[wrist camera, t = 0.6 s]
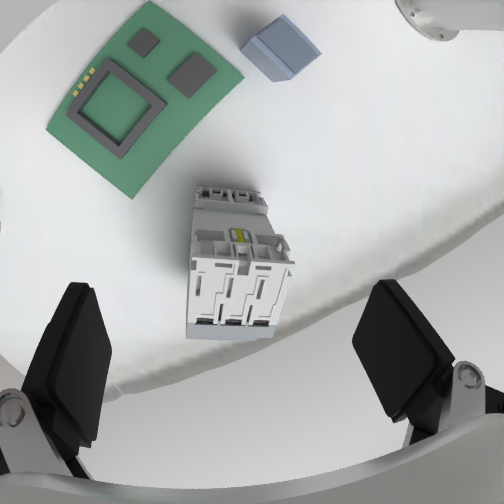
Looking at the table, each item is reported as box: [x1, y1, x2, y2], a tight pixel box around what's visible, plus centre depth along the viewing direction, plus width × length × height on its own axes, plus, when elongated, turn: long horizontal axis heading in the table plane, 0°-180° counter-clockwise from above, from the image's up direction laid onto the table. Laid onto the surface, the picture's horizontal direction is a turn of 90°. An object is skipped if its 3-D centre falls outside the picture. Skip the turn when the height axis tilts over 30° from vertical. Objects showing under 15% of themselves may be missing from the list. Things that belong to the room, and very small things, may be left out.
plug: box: [241, 14, 322, 82], centre depth 23 cm, size 4×5×8 cm
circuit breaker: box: [186, 186, 295, 341], centre depth 30 cm, size 8×14×15 cm, turn 170°
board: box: [45, 0, 245, 199], centre depth 25 cm, size 18×14×3 cm
